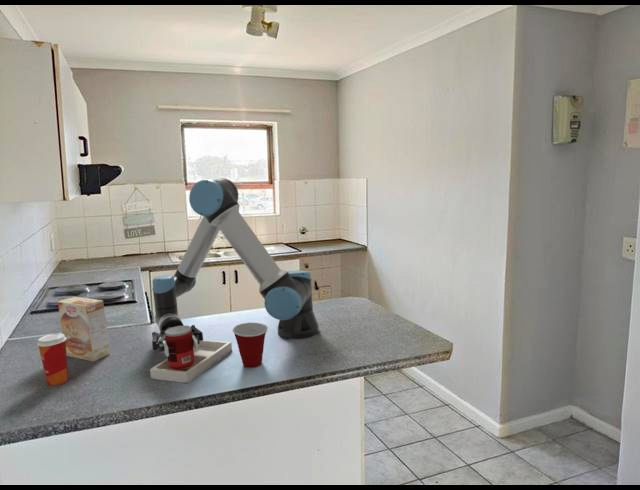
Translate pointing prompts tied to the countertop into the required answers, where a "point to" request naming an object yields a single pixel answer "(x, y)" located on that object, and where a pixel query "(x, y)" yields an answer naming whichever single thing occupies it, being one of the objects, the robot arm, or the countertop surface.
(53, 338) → the paper cup
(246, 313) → the countertop surface
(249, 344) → the plastic cup
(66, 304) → the coffeecake box
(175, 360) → the canned food
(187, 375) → the divided tray
